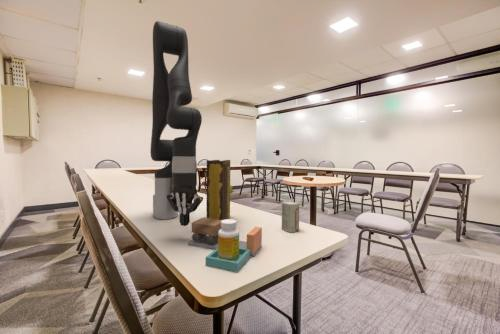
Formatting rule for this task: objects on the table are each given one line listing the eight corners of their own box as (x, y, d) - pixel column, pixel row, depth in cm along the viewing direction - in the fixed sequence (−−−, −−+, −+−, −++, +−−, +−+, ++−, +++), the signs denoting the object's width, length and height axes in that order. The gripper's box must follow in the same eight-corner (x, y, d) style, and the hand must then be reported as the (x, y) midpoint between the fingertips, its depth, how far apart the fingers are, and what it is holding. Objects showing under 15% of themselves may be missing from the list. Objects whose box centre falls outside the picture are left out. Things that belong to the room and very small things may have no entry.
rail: (187, 244, 67) (187, 225, 67) (200, 236, 73) (200, 219, 73) (253, 256, 59) (253, 235, 59) (261, 246, 66) (261, 227, 66)
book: (226, 234, 76) (227, 161, 75) (202, 233, 76) (202, 160, 75) (233, 216, 98) (233, 160, 97) (213, 216, 98) (214, 159, 97)
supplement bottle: (236, 264, 54) (237, 224, 54) (215, 262, 55) (215, 223, 54) (240, 254, 59) (241, 218, 59) (221, 253, 60) (221, 217, 60)
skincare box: (299, 231, 80) (300, 203, 80) (290, 233, 78) (290, 204, 78) (290, 227, 85) (290, 200, 84) (280, 228, 83) (281, 202, 82)
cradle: (205, 265, 55) (205, 257, 54) (222, 251, 63) (222, 244, 62) (237, 272, 52) (237, 263, 51) (250, 256, 60) (250, 249, 59)
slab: (191, 240, 67) (191, 222, 67) (203, 233, 73) (203, 217, 72) (214, 244, 64) (214, 226, 64) (224, 237, 70) (225, 220, 70)
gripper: (159, 170, 69) (159, 225, 70) (195, 172, 64) (195, 231, 65) (175, 169, 76) (175, 219, 77) (208, 171, 71) (208, 224, 72)
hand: (184, 224), depth 71 cm, fingers closed
